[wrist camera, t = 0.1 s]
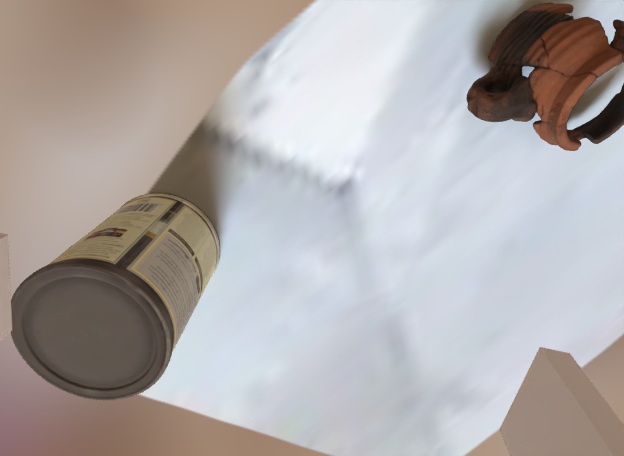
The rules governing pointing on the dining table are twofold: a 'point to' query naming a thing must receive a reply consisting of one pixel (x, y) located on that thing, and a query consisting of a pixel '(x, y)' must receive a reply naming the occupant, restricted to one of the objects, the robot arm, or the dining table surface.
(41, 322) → the coffee can
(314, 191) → the dining table surface
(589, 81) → the pottery mug
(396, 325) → the dining table surface
